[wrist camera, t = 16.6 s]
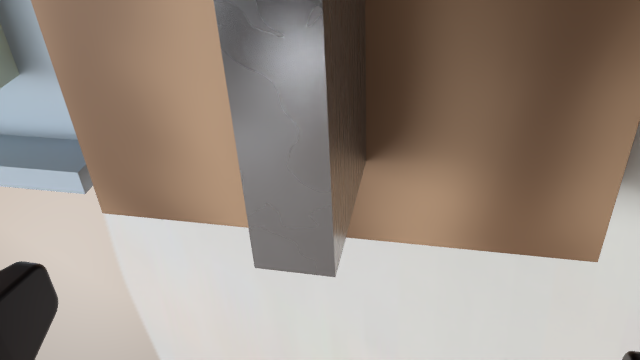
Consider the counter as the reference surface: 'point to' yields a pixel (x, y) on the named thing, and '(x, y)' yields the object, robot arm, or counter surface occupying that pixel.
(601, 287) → the counter surface
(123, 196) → the wood-grain brown block
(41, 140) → the box
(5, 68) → the sage tile
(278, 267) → the grey rectangular bar
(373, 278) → the counter surface
